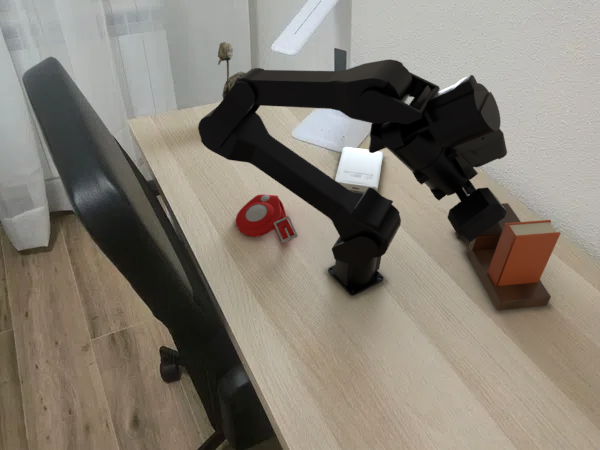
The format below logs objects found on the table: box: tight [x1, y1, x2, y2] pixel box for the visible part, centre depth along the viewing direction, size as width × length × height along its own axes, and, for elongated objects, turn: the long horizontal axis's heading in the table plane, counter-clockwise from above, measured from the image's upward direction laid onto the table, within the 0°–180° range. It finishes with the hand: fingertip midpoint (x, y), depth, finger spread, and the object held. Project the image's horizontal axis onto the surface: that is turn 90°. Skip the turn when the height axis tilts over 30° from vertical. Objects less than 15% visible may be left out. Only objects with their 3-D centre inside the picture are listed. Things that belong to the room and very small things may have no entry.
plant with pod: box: [217, 41, 247, 100], centre depth 113 cm, size 8×11×20 cm
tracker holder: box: [235, 194, 299, 244], centre depth 94 cm, size 12×4×10 cm
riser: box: [454, 202, 552, 311], centre depth 87 cm, size 8×18×6 cm, turn 9°
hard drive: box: [334, 146, 384, 193], centre depth 108 cm, size 2×8×12 cm
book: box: [488, 219, 562, 286], centre depth 81 cm, size 7×3×10 cm, turn 99°
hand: (484, 211), depth 78 cm, fingers open, 9 cm apart
